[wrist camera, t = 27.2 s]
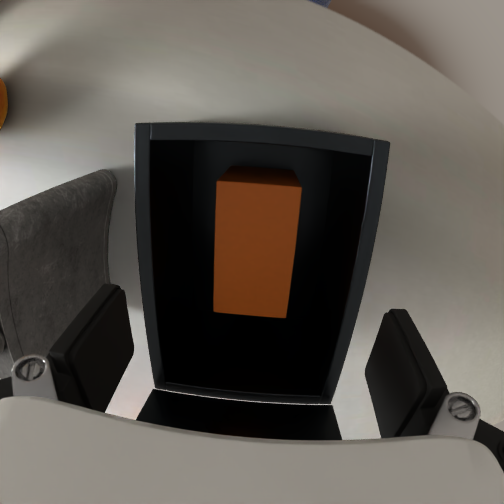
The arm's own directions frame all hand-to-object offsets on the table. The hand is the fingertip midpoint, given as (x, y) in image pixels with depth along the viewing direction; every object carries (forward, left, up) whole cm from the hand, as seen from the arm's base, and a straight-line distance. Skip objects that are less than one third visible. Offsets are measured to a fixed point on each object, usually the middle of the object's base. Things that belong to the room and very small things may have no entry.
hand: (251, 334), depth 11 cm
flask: (-5, -16, -18) cm, 24 cm away
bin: (+2, -2, -18) cm, 18 cm away
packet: (+1, -1, -17) cm, 17 cm away
